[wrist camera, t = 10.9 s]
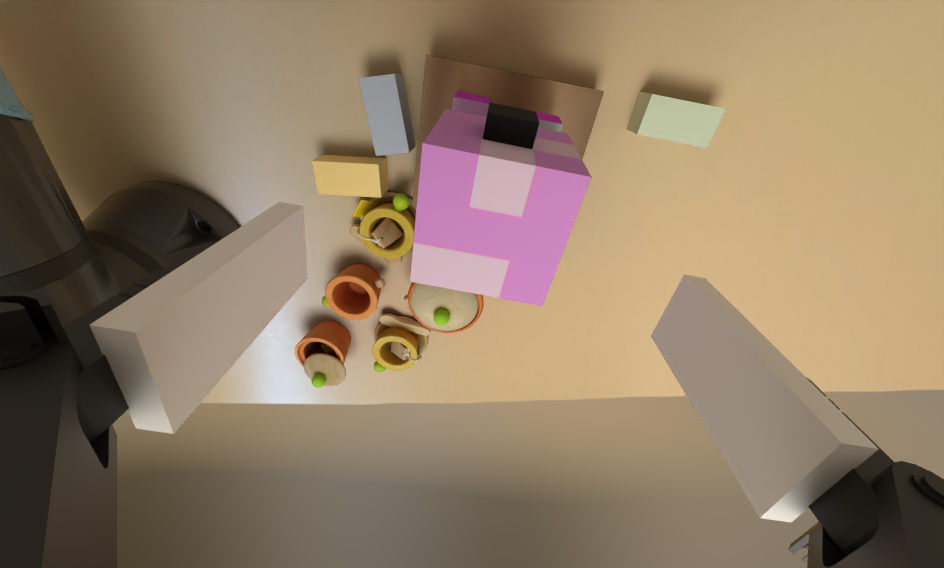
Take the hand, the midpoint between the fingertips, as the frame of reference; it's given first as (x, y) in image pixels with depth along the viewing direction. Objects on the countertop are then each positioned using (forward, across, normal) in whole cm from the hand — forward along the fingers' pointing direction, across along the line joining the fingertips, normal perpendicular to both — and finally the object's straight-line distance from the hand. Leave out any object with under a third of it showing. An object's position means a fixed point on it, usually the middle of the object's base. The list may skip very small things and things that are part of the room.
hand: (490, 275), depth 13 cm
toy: (+22, 0, 0) cm, 22 cm away
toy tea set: (+25, -8, -19) cm, 33 cm away
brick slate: (+25, -9, +1) cm, 27 cm away
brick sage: (+24, +15, +5) cm, 29 cm away
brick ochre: (+25, -12, -5) cm, 28 cm away
